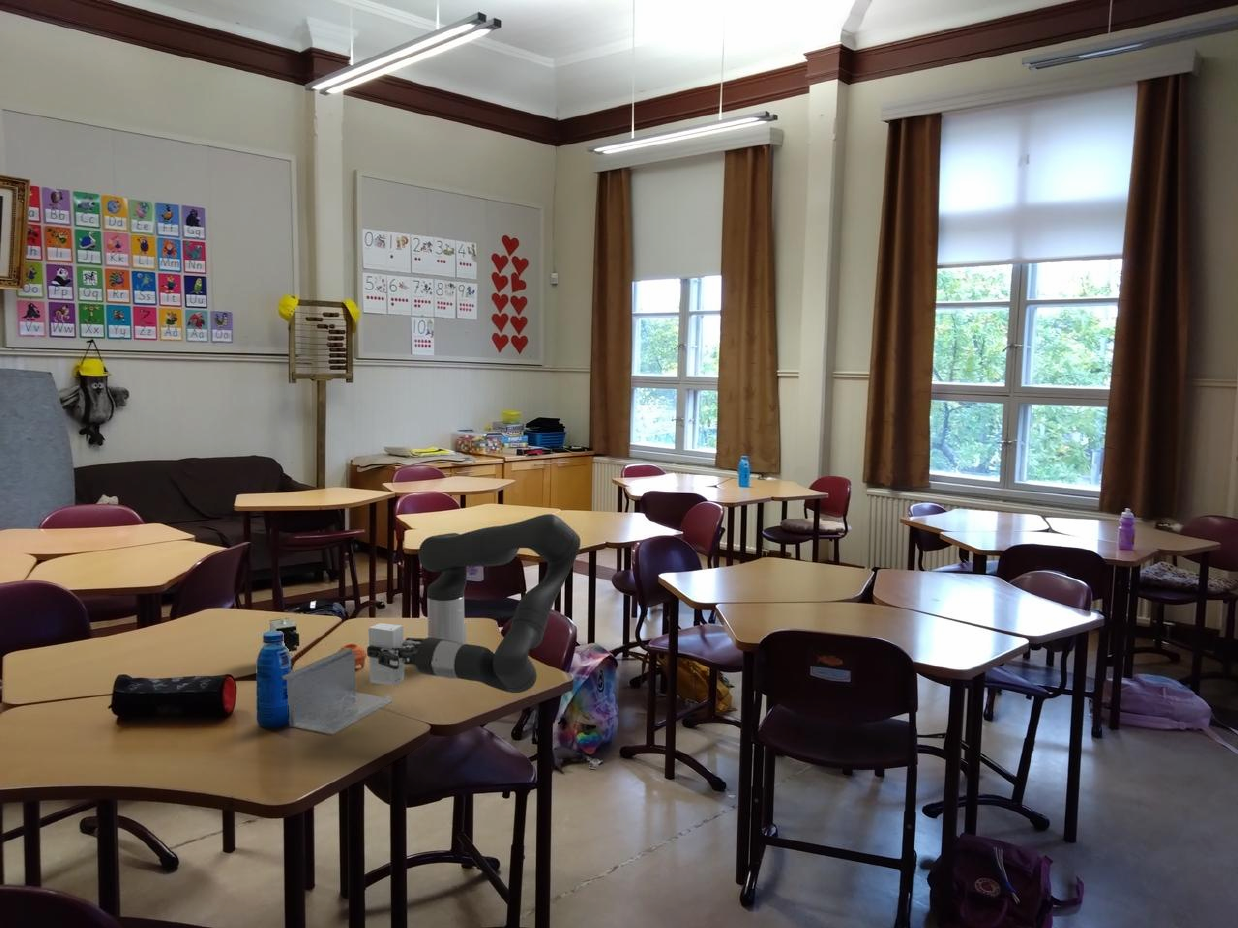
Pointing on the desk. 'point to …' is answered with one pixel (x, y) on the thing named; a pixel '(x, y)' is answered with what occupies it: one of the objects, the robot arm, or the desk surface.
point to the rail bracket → (328, 695)
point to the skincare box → (388, 638)
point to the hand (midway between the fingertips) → (375, 647)
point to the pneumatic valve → (287, 632)
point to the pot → (356, 654)
